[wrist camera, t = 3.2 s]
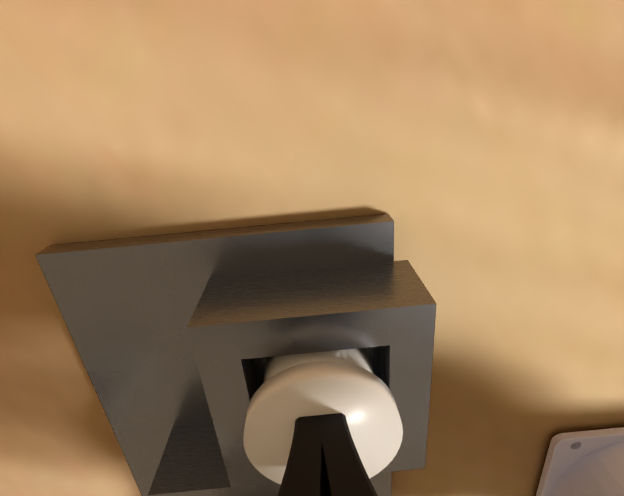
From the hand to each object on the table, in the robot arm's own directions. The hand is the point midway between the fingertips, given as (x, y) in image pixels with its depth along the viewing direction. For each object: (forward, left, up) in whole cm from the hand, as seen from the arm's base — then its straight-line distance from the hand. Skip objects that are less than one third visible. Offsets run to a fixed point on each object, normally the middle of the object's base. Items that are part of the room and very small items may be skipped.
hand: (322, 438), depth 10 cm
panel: (+3, +7, -5) cm, 9 cm away
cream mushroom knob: (0, 0, -4) cm, 4 cm away
